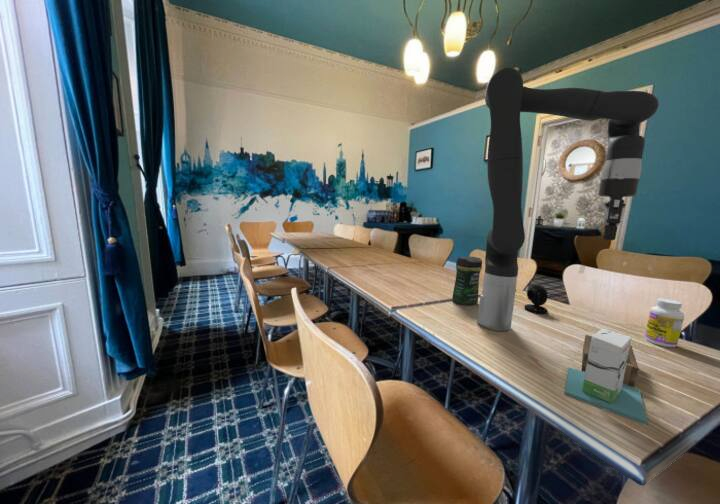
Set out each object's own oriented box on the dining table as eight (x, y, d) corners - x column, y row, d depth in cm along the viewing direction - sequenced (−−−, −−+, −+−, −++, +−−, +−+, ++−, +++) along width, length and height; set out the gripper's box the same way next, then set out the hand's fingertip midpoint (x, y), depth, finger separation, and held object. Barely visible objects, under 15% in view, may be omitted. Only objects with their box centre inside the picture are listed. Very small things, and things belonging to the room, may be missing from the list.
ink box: (612, 404, 53) (623, 347, 51) (580, 390, 57) (590, 337, 55) (622, 388, 58) (633, 335, 56) (592, 376, 62) (602, 327, 60)
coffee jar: (463, 306, 106) (468, 259, 103) (448, 300, 113) (452, 255, 110) (481, 304, 110) (486, 258, 107) (466, 297, 117) (471, 254, 114)
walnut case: (581, 370, 65) (584, 353, 65) (582, 350, 75) (585, 334, 75) (634, 387, 60) (638, 368, 59) (628, 362, 70) (631, 346, 69)
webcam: (519, 306, 108) (522, 282, 107) (537, 306, 109) (540, 282, 107) (533, 314, 101) (537, 288, 99) (552, 314, 101) (556, 288, 100)
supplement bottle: (637, 337, 85) (646, 297, 83) (657, 337, 85) (666, 297, 83) (663, 348, 78) (673, 305, 76) (684, 348, 79) (694, 305, 77)
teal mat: (564, 394, 57) (564, 391, 57) (568, 369, 66) (568, 367, 66) (647, 424, 49) (648, 421, 49) (638, 391, 58) (639, 389, 58)
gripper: (600, 181, 81) (590, 236, 84) (601, 175, 70) (590, 239, 73) (636, 180, 77) (624, 238, 79) (643, 174, 66) (630, 242, 68)
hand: (608, 238), depth 76 cm, fingers open, 8 cm apart
